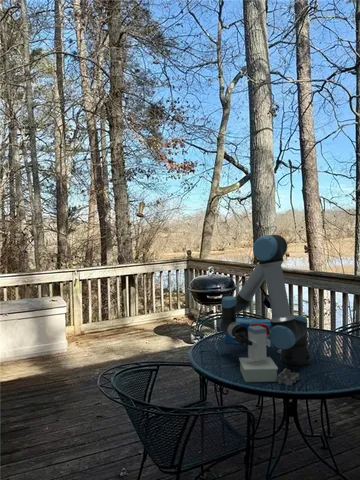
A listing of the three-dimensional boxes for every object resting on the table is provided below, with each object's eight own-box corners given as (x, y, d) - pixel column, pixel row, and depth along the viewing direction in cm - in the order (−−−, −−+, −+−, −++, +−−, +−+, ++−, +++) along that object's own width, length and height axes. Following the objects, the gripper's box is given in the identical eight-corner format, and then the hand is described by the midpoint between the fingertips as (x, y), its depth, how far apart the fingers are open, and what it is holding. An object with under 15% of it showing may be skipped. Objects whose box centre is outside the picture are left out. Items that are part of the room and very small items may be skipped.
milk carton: (259, 354, 187) (259, 325, 186) (266, 359, 181) (266, 328, 180) (248, 356, 185) (248, 326, 184) (254, 360, 179) (254, 330, 178)
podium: (270, 369, 191) (270, 357, 190) (278, 381, 176) (278, 368, 175) (239, 370, 190) (238, 357, 190) (244, 382, 175) (244, 369, 175)
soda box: (225, 344, 233) (224, 322, 232) (229, 337, 246) (229, 316, 245) (297, 349, 220) (296, 326, 220) (297, 342, 233) (297, 320, 232)
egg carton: (286, 375, 183) (286, 367, 183) (301, 380, 178) (301, 371, 178) (274, 382, 175) (274, 373, 175) (290, 387, 170) (290, 377, 170)
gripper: (254, 337, 203) (281, 350, 181) (221, 341, 196) (244, 355, 174) (254, 322, 202) (281, 334, 181) (220, 326, 196) (244, 339, 174)
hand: (263, 344), depth 178 cm, fingers closed on milk carton, 6 cm apart
